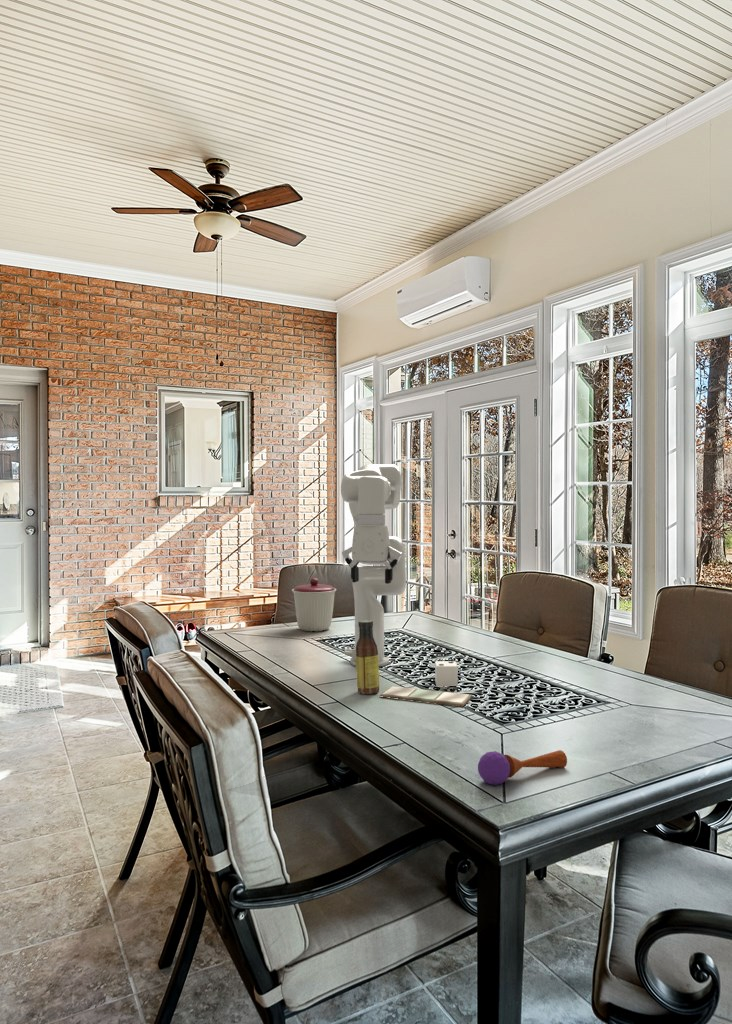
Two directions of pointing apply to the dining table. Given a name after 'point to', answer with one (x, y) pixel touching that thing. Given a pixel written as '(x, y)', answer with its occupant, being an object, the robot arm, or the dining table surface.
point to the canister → (314, 605)
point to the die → (446, 673)
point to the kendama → (514, 765)
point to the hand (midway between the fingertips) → (371, 582)
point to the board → (427, 696)
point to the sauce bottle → (367, 659)
